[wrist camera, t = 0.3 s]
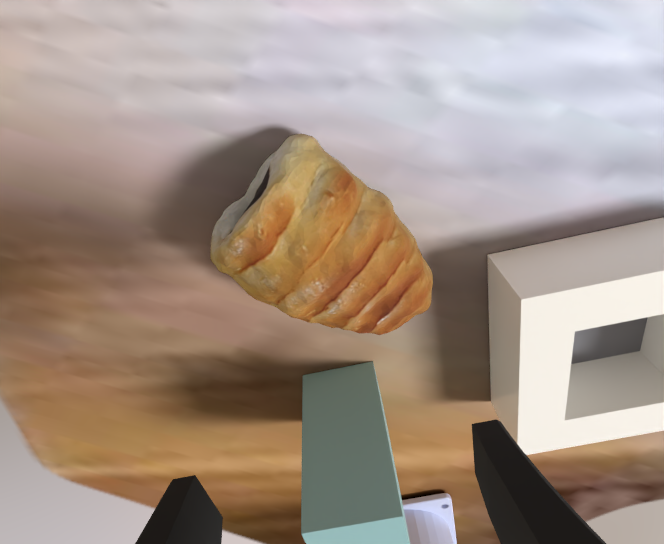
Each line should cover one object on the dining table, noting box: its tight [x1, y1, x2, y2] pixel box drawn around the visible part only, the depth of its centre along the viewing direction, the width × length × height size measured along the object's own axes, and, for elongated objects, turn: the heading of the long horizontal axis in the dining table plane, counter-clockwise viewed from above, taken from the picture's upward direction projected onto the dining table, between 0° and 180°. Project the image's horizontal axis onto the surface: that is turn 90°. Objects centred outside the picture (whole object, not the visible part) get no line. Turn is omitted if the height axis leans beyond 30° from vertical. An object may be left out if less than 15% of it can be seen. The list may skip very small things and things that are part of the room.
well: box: [487, 217, 664, 455], centre depth 20 cm, size 10×10×4 cm
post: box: [301, 361, 410, 544], centre depth 20 cm, size 4×4×8 cm
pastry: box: [210, 134, 433, 335], centre depth 17 cm, size 9×7×4 cm
